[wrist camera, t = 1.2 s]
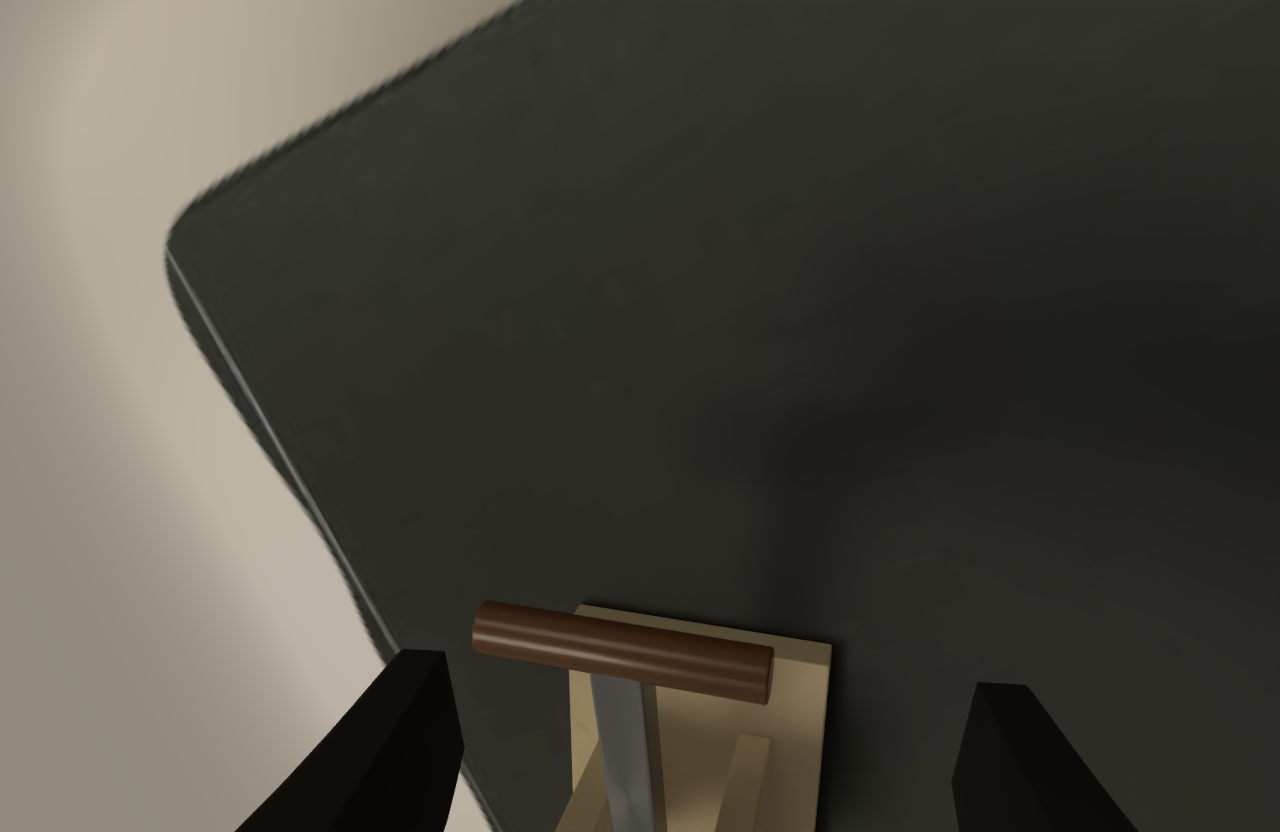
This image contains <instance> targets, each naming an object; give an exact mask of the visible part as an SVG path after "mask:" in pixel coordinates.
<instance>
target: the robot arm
mask: <svg viewBox="0 0 1280 832" xmlns="http://www.w3.org/2000/svg"><path fill="white" fill-rule="evenodd" d="M464 748H465V747H464V742H463V738H462V733H461V728H460V723H459V718H458V713H457V709H456V704H455V699H454V694H453V689H452V684H451V680H450V675H449V670H448V665H447V660H446V655H445V651H430V650H413V649H402V650H401V651H400V652H399V653H397V654H396V656H395V657H394V658H393V659H392V660H391V661H390V663H389V664H388V665H387V666H386V667H385V668H384V670H383V671H382V672H381V673H380V674H379V675H378V677H377V678H376V679H375V680H374V681H373V682H372V684H371V685H370V686H369V687H368V688H367V690H366V691H365V692H364V693H363V694H362V695H361V697H360V698H359V699H358V700H357V701H356V702H355V703H354V705H353V706H352V707H351V708H350V709H349V710H348V712H347V713H346V714H345V715H344V716H343V717H342V718H341V720H340V721H339V722H338V723H337V724H336V725H335V726H334V727H333V729H332V730H331V731H330V732H329V733H328V734H327V735H326V736H325V737H324V739H323V740H322V741H321V742H320V743H319V744H318V745H317V746H316V747H315V748H314V749H313V750H312V752H311V753H310V754H309V755H308V756H307V757H306V758H305V759H304V760H303V761H302V762H301V764H300V765H299V766H298V767H297V768H296V769H295V770H294V771H293V772H292V773H291V775H290V776H289V777H288V778H287V779H286V780H285V781H284V782H283V783H282V784H281V785H280V786H279V787H278V788H277V789H276V790H275V791H274V792H273V794H271V795H270V796H269V797H268V798H267V799H266V800H265V801H264V802H263V803H262V805H260V806H259V807H258V808H257V809H256V811H254V812H253V813H252V814H251V816H249V817H248V818H247V819H246V820H245V821H244V823H243V824H241V826H239V828H238V829H237V830H236V831H235V832H444V829H445V826H446V823H447V819H448V815H449V812H450V807H451V803H452V799H453V796H454V791H455V787H456V783H457V779H458V774H459V770H460V766H461V761H462V757H463V752H464ZM951 782H952V788H953V795H954V801H955V807H956V814H957V820H958V826H959V832H1138V831H1137V829H1136V828H1135V827H1134V826H1133V824H1132V823H1131V822H1130V821H1129V820H1128V818H1127V817H1126V816H1125V815H1124V813H1123V812H1122V811H1121V810H1120V808H1119V807H1118V806H1117V805H1116V803H1115V802H1114V801H1113V799H1112V798H1111V797H1110V796H1109V794H1108V793H1107V792H1106V790H1105V789H1104V788H1103V787H1102V785H1101V784H1100V783H1099V781H1098V780H1097V779H1096V777H1095V776H1094V775H1093V773H1092V772H1091V771H1090V769H1089V768H1088V767H1087V765H1086V764H1085V763H1084V762H1083V760H1082V759H1081V758H1080V756H1079V755H1078V754H1077V752H1076V751H1075V750H1074V748H1073V747H1072V746H1071V744H1070V743H1069V741H1068V740H1067V739H1066V737H1065V736H1064V735H1063V733H1062V732H1061V731H1060V729H1059V728H1058V726H1057V725H1056V724H1055V722H1054V721H1053V720H1052V718H1051V717H1050V716H1049V714H1048V713H1047V711H1046V710H1045V709H1044V707H1043V706H1042V704H1041V703H1040V702H1039V700H1038V699H1037V698H1036V696H1035V695H1034V693H1033V692H1032V691H1031V690H1030V689H1029V688H1028V687H1027V686H1026V685H1016V684H999V683H982V682H977V685H976V689H975V693H974V697H973V701H972V705H971V708H970V712H969V716H968V720H967V724H966V728H965V731H964V735H963V739H962V743H961V747H960V751H959V755H958V758H957V762H956V766H955V770H954V774H953V778H952V781H951Z"/></svg>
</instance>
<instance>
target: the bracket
mask: <svg viewBox="0 0 1280 832" xmlns="http://www.w3.org/2000/svg"><path fill="white" fill-rule="evenodd" d="M574 614H575V615H582V616H588V617H594V618H600V619H606V620H612V621H618V622H624V623H630V624H636V625H642V626H649V627H655V628H661V629H667V630H673V631H679V632H685V633H691V634H697V635H703V636H710V637H716V638H722V639H728V640H734V641H740V642H746V643H752V644H758V645H764V646H770V647H773V648H774V652H775V656H774V670H773V679H772V687H771V693H770V698H769V702H768V704H767V705H760V704H754V703H749V702H743V701H738V700H732V699H727V698H721V697H716V696H710V695H705V694H700V693H694V692H689V691H683V690H678V689H672V688H667V687H661V686H656V696H657V708H658V720H659V732H660V744H661V757H662V769H663V781H664V793H665V805H666V818H667V830H668V832H815V827H816V816H817V805H818V795H819V784H820V773H821V762H822V752H823V741H824V730H825V720H826V709H827V698H828V687H829V677H830V666H831V655H832V646H831V645H830V644H826V643H820V642H813V641H807V640H801V639H795V638H788V637H782V636H776V635H770V634H763V633H757V632H751V631H745V630H739V629H732V628H726V627H720V626H714V625H707V624H701V623H695V622H689V621H682V620H676V619H670V618H664V617H657V616H651V615H645V614H639V613H633V612H626V611H620V610H614V609H608V608H601V607H595V606H589V605H583V604H582V605H579V607H578V608H577V610H576V611H575V613H574ZM569 681H570V712H571V743H572V775H573V795H572V797H571V799H570V801H569V803H568V805H567V808H566V810H565V812H564V814H563V816H562V818H561V820H560V822H559V824H558V827H557V829H556V831H555V832H612V825H611V819H610V812H609V805H608V798H607V791H606V784H605V778H604V771H603V764H602V757H601V750H600V743H599V737H598V730H597V723H596V716H595V709H594V702H593V696H592V689H591V682H590V675H589V673H585V672H579V671H574V670H569Z"/></svg>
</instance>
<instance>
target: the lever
mask: <svg viewBox="0 0 1280 832" xmlns="http://www.w3.org/2000/svg"><path fill="white" fill-rule="evenodd" d="M472 644H473V648H474V650H475V651H476V652H478V653H481V654H486V655H492V656H497V657H503V658H508V659H514V660H519V661H524V662H530V663H535V664H541V665H546V666H552V667H557V668H563V669H568V670H574V671H579V672H585V673H589V675H590V682H591V689H592V696H593V702H594V709H595V716H596V723H597V730H598V737H599V743H600V750H601V757H602V764H603V771H604V778H605V784H606V791H607V798H608V805H609V812H610V819H611V825H612V832H668V830H667V818H666V805H665V793H664V781H663V769H662V757H661V744H660V732H659V720H658V708H657V696H656V686H661V687H667V688H672V689H678V690H683V691H689V692H694V693H700V694H705V695H710V696H716V697H721V698H727V699H732V700H738V701H743V702H749V703H754V704H760V705H767V704H768V702H769V698H770V693H771V687H772V679H773V670H774V656H775V652H774V648H773V647H770V646H764V645H758V644H752V643H746V642H740V641H734V640H728V639H722V638H716V637H710V636H703V635H697V634H691V633H685V632H679V631H673V630H667V629H661V628H655V627H649V626H642V625H636V624H630V623H624V622H618V621H612V620H606V619H600V618H594V617H588V616H582V615H575V614H569V613H563V612H557V611H551V610H545V609H539V608H533V607H527V606H521V605H515V604H508V603H502V602H496V601H490V600H489V601H486V602H484V603H483V604H482V605H481V607H480V608H479V610H478V612H477V614H476V617H475V620H474V624H473V629H472Z"/></svg>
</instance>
